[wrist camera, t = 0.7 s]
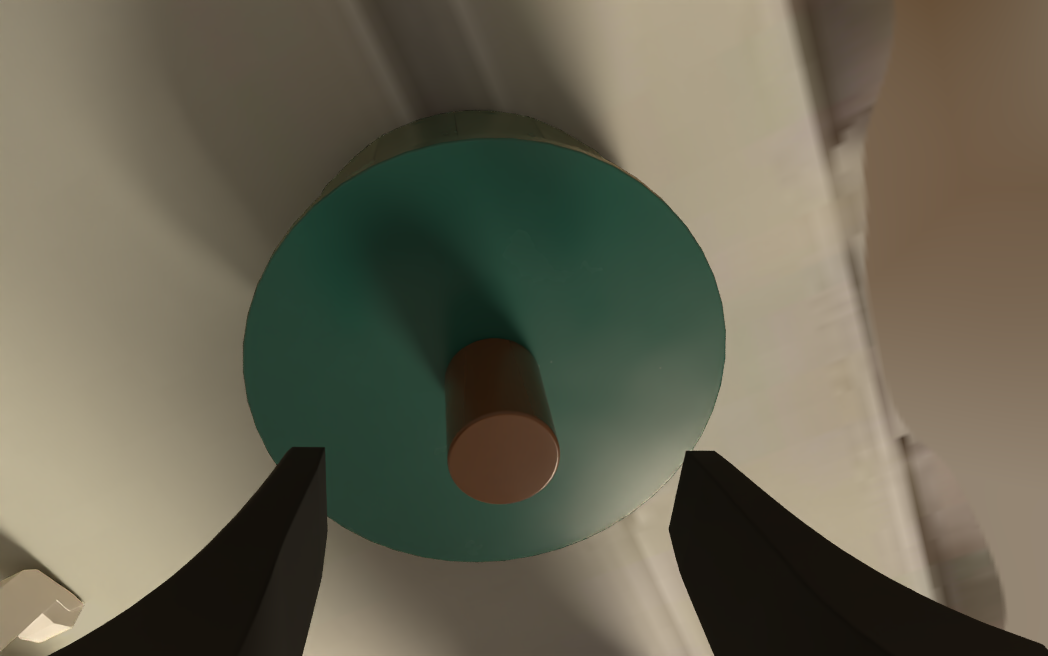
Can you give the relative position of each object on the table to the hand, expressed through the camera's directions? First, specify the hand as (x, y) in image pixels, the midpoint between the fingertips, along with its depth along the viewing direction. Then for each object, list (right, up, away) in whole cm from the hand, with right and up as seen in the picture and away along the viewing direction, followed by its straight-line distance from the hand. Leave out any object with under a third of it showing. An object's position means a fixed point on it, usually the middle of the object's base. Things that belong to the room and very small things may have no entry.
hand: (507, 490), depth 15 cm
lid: (-1, +2, +4) cm, 5 cm away
